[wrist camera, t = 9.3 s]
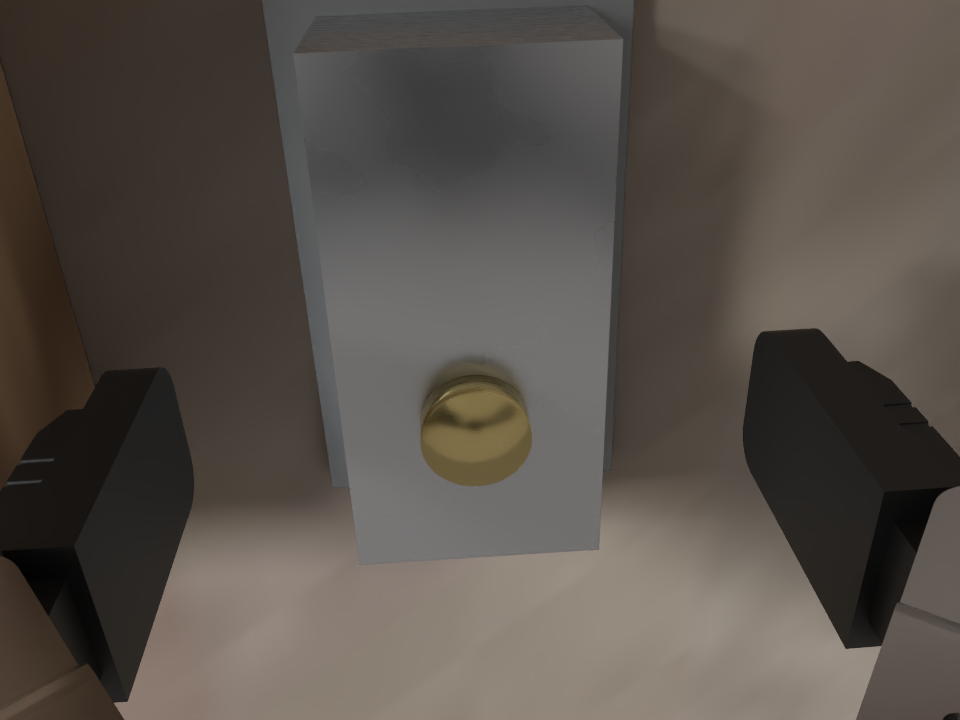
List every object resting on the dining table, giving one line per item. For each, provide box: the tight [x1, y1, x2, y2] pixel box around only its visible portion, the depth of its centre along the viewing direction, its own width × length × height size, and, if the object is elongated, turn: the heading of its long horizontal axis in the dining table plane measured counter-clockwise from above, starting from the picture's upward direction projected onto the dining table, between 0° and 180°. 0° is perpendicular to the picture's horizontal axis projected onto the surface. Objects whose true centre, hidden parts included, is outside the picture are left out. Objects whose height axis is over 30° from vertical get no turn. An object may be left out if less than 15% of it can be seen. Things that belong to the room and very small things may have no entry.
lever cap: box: [293, 5, 623, 565], centre depth 15 cm, size 9×4×4 cm, turn 2°
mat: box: [262, 0, 634, 488], centre depth 17 cm, size 10×6×1 cm, turn 2°
